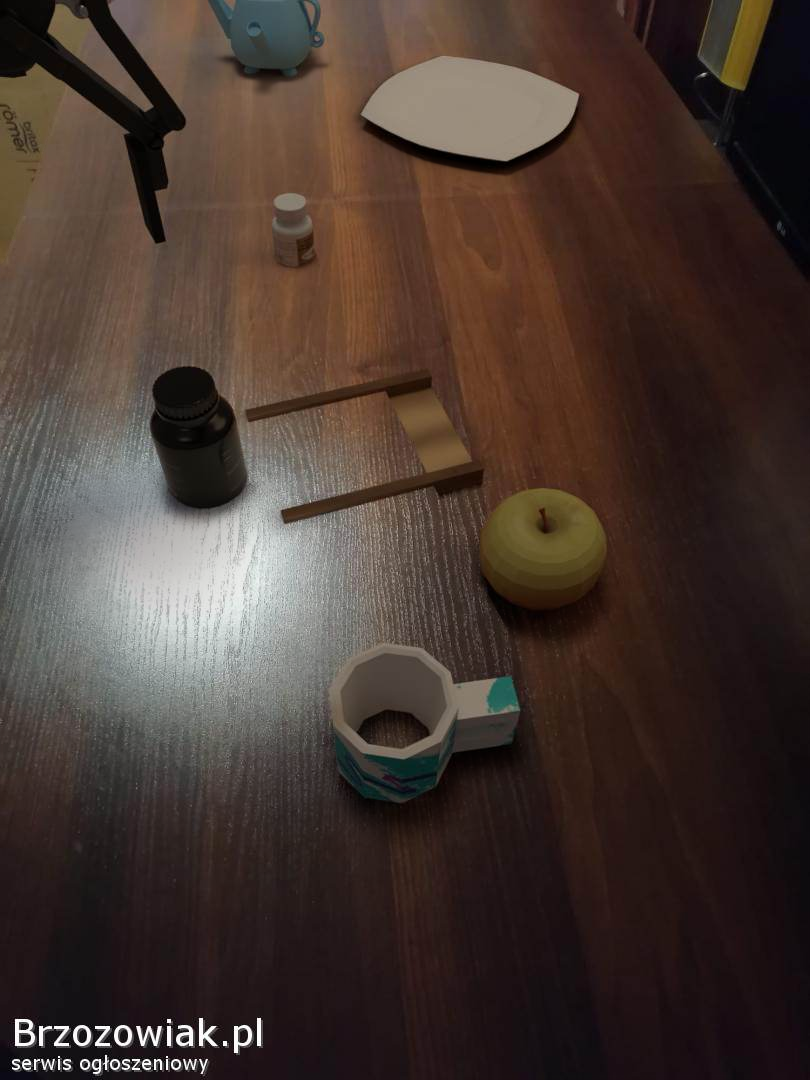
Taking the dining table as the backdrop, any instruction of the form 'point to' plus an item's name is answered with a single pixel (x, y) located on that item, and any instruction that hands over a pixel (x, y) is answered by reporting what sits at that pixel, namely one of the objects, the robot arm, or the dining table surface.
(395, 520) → the dining table surface
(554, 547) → the apple
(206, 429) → the supplement bottle
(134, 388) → the dining table surface
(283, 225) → the pill bottle
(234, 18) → the teapot
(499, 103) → the plate
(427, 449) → the brown u-shaped piece
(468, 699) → the mug
